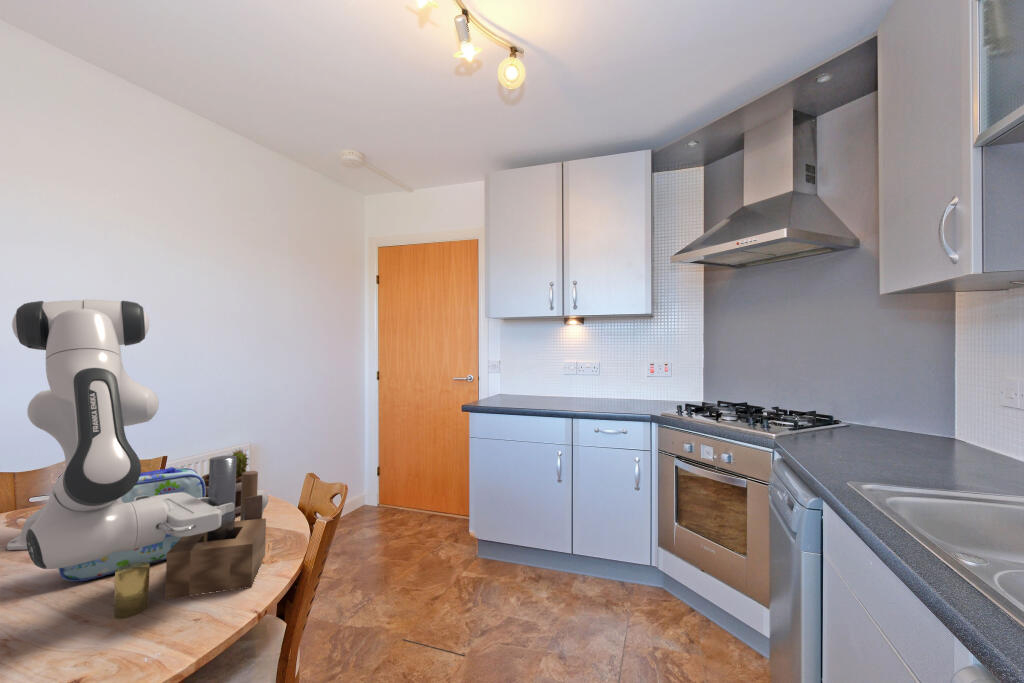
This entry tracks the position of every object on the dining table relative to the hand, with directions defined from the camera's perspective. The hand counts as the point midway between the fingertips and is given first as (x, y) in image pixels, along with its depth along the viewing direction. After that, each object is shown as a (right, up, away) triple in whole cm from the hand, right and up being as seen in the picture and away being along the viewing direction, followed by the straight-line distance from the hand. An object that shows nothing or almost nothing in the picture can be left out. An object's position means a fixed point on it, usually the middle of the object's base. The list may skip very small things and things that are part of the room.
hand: (226, 502), depth 99 cm
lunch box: (-24, -16, +4) cm, 29 cm away
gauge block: (-1, -16, -1) cm, 16 cm away
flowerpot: (-23, -16, +34) cm, 45 cm away
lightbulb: (-8, -16, +24) cm, 30 cm away
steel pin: (-1, -14, -1) cm, 14 cm away
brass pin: (-9, -15, -15) cm, 23 cm away
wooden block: (-3, -16, +13) cm, 21 cm away
